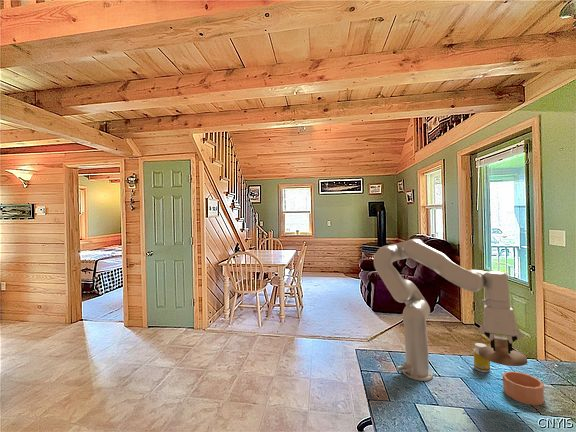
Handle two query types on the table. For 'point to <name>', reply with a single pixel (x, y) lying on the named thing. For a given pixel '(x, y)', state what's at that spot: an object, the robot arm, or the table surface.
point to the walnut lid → (502, 353)
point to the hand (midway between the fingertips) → (501, 350)
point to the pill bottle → (480, 359)
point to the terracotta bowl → (523, 388)
